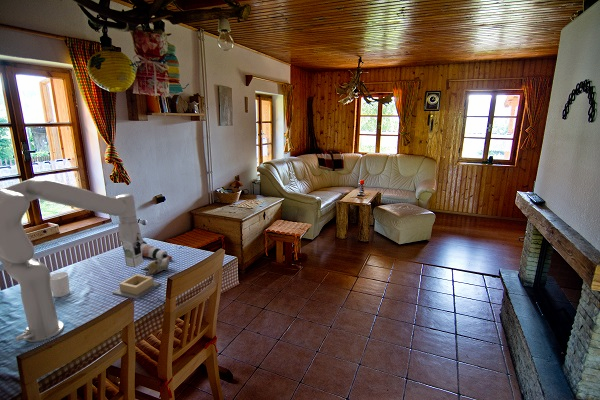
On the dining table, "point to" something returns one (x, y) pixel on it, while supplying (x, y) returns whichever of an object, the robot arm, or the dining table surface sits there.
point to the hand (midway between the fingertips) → (133, 252)
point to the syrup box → (131, 254)
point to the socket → (136, 286)
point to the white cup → (59, 284)
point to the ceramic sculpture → (157, 266)
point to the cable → (153, 252)
